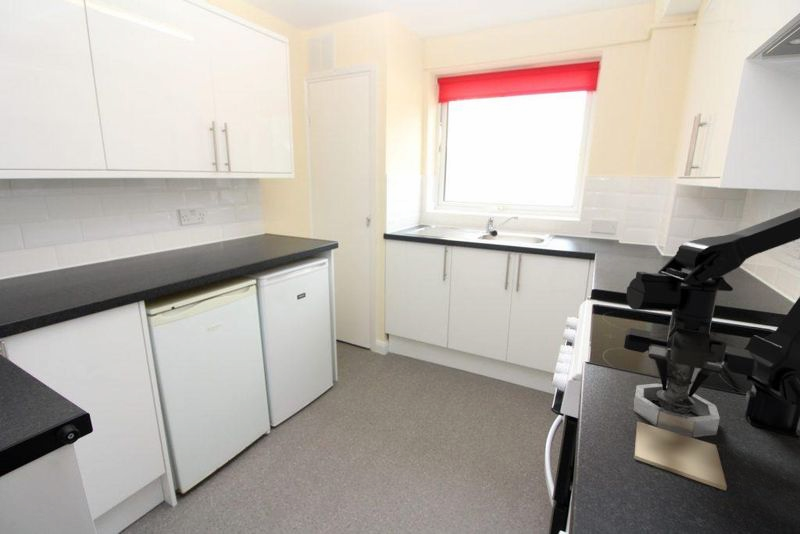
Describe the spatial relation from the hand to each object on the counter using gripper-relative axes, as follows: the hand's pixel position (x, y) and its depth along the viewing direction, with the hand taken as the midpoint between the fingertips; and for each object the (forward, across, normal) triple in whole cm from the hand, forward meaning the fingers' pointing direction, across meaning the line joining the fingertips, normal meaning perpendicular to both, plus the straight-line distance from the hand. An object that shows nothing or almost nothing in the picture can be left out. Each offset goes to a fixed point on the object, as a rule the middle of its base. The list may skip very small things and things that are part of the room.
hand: (676, 392), depth 70 cm
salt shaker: (+5, 0, 0) cm, 5 cm away
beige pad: (+5, 0, -13) cm, 14 cm away
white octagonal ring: (+5, 0, 0) cm, 5 cm away
